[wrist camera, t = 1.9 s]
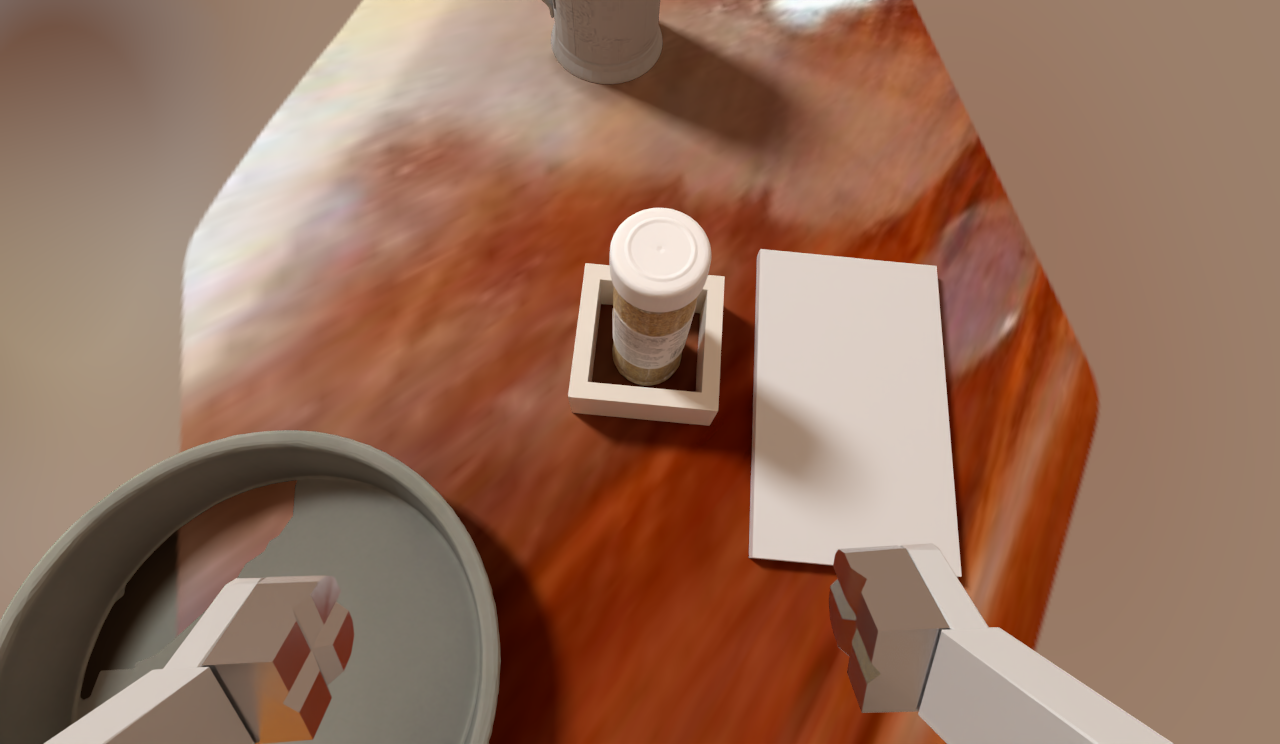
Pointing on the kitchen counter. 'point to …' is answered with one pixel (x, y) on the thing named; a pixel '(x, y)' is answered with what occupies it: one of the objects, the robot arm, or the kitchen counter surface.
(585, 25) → the grey ceramic mug
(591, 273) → the stand
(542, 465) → the kitchen counter surface
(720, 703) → the kitchen counter surface
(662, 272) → the sprinkles bottle
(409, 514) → the cake pan
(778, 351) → the white board
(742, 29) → the kitchen counter surface
